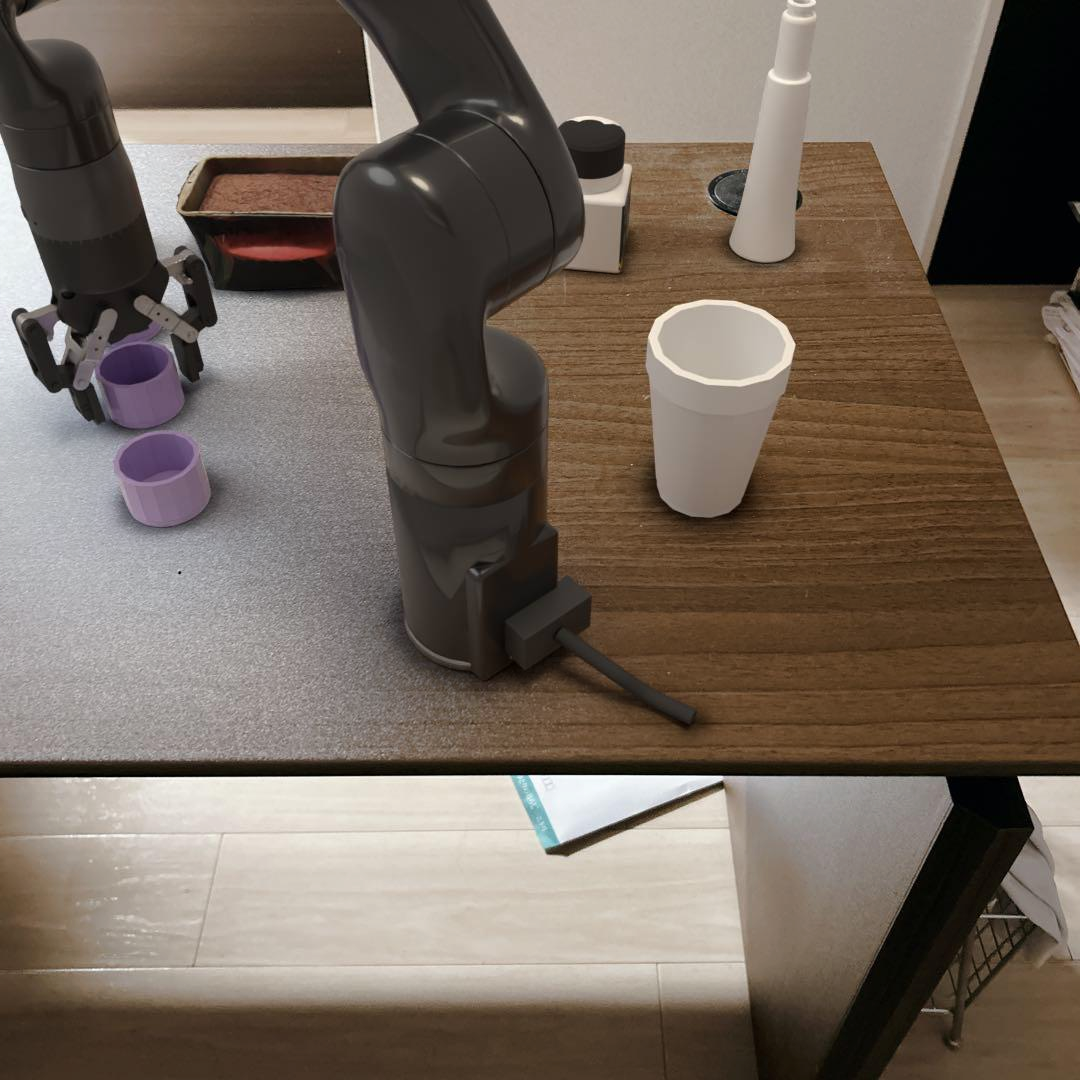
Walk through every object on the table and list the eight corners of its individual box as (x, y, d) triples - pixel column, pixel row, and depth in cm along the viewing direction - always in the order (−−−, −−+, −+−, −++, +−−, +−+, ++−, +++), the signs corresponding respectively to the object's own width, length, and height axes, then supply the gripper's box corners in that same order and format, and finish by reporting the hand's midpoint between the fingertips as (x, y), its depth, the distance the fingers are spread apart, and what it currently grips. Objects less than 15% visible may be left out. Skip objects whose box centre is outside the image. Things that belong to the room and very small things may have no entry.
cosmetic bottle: (784, 269, 102) (830, 20, 86) (720, 254, 104) (754, 8, 88) (801, 236, 106) (848, -8, 90) (739, 223, 108) (774, -19, 92)
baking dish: (238, 226, 111) (199, 133, 103) (413, 210, 108) (386, 113, 100) (198, 321, 102) (152, 227, 94) (388, 306, 99) (356, 208, 91)
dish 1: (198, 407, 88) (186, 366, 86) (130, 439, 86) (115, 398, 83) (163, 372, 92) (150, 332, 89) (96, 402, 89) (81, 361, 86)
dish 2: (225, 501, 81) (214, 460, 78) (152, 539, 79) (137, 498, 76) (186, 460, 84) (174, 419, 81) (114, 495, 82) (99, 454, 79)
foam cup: (728, 433, 86) (752, 288, 77) (789, 512, 80) (822, 365, 71) (615, 463, 84) (625, 317, 75) (669, 546, 78) (687, 400, 69)
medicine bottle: (620, 275, 101) (628, 149, 93) (541, 268, 102) (542, 142, 94) (628, 233, 106) (636, 110, 98) (553, 227, 107) (555, 104, 98)
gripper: (3, 268, 71) (79, 462, 83) (206, 193, 78) (250, 383, 89) (-42, 221, 75) (37, 412, 87) (155, 153, 81) (203, 340, 93)
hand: (145, 397), depth 88 cm, fingers open, 7 cm apart
